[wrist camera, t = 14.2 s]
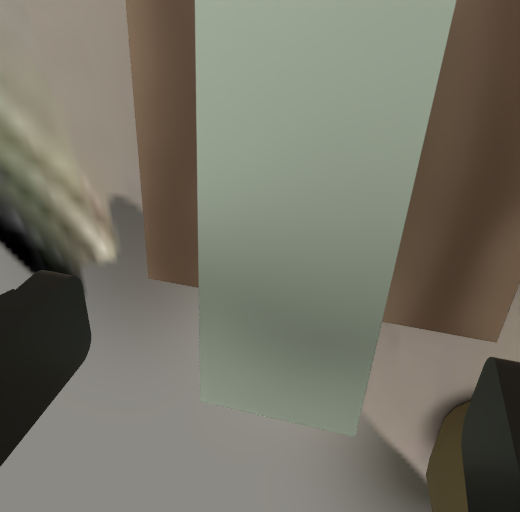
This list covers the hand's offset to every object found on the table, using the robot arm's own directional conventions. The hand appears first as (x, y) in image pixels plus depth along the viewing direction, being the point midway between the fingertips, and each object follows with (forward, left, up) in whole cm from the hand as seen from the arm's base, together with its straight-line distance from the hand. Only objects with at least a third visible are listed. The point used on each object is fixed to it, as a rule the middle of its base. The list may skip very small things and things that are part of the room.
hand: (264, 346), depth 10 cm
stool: (0, 0, -13) cm, 13 cm away
